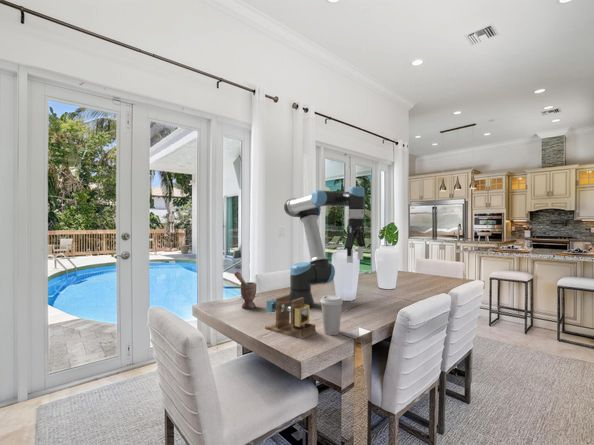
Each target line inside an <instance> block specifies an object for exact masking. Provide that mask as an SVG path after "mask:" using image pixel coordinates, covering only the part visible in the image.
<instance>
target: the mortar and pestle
mask: <svg viewBox="0 0 594 445" xmlns="http://www.w3.org/2000/svg"><path fill="white" fill-rule="evenodd" d="M234 277H235V278H236V279H237V280H238V281H239V282H240V295H241V298H242V300H243V301H244V302H243V303H242V306H241V309H243V310H252V309H254V308H257V306H256V303H254V300H255V298H256V294H257V282H255V281H254V282H252V281H250V282H249V281H245V280H244V278H243V276H242V274H241V273H240V272H239V271H235V272H234Z"/></svg>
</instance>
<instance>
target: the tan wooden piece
mask: <svg viewBox="0 0 594 445" xmlns="http://www.w3.org/2000/svg"><path fill="white" fill-rule="evenodd" d="M310 308H311V307H310V305H307V304H304V305H301V306H299V307H296V308H295V326H298V327H300V326H302V325H305V324H307V323H310ZM303 310H307V311H308V315H307V316H304V315H303V319H302V320H301V311H303Z"/></svg>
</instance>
